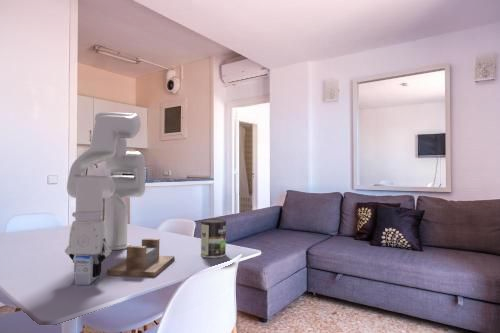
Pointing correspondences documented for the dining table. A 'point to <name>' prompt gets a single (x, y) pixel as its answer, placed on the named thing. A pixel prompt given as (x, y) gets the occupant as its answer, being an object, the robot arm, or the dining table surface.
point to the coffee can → (213, 238)
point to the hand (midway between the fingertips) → (87, 274)
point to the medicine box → (84, 269)
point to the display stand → (142, 260)
